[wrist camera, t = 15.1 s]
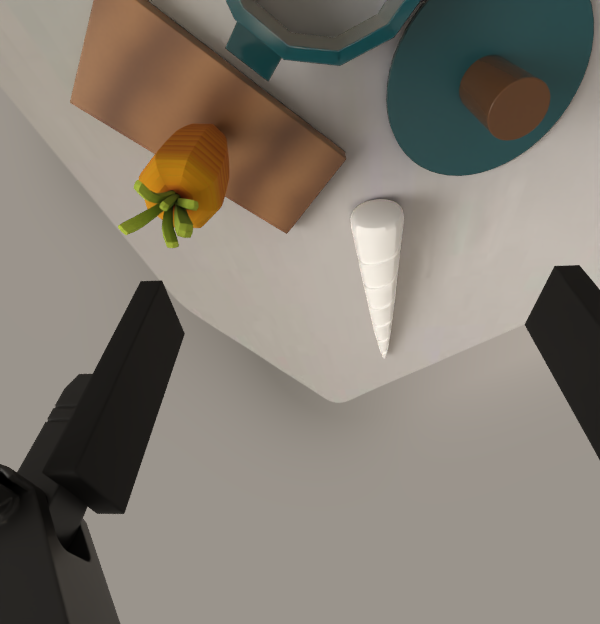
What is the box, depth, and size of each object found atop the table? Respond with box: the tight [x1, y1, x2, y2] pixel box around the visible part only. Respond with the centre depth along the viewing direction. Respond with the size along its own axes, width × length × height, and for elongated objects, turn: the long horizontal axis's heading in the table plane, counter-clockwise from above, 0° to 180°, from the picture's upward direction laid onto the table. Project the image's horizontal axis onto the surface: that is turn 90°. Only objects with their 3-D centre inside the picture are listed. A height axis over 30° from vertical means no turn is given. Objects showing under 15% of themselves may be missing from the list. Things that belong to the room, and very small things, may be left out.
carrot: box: [118, 123, 229, 248], centre depth 24 cm, size 5×5×15 cm
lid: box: [386, 0, 594, 176], centre depth 26 cm, size 14×14×7 cm
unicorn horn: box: [350, 199, 404, 358], centre depth 41 cm, size 5×24×5 cm, turn 8°
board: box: [70, 0, 346, 234], centre depth 30 cm, size 20×9×2 cm, turn 55°
